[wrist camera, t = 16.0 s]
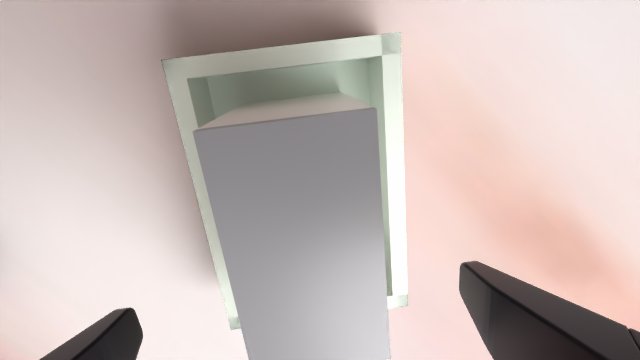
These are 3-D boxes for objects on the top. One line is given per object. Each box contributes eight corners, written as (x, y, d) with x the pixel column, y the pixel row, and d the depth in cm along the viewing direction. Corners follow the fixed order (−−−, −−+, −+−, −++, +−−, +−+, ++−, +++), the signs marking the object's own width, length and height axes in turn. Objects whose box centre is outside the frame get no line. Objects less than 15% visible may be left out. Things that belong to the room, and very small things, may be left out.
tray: (380, 40, 16) (400, 31, 13) (390, 268, 20) (407, 305, 17) (190, 62, 16) (161, 59, 13) (242, 287, 20) (231, 329, 17)
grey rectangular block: (340, 91, 16) (376, 108, 9) (354, 245, 19) (390, 359, 12) (242, 103, 16) (192, 131, 8) (272, 256, 19) (253, 378, 11)
